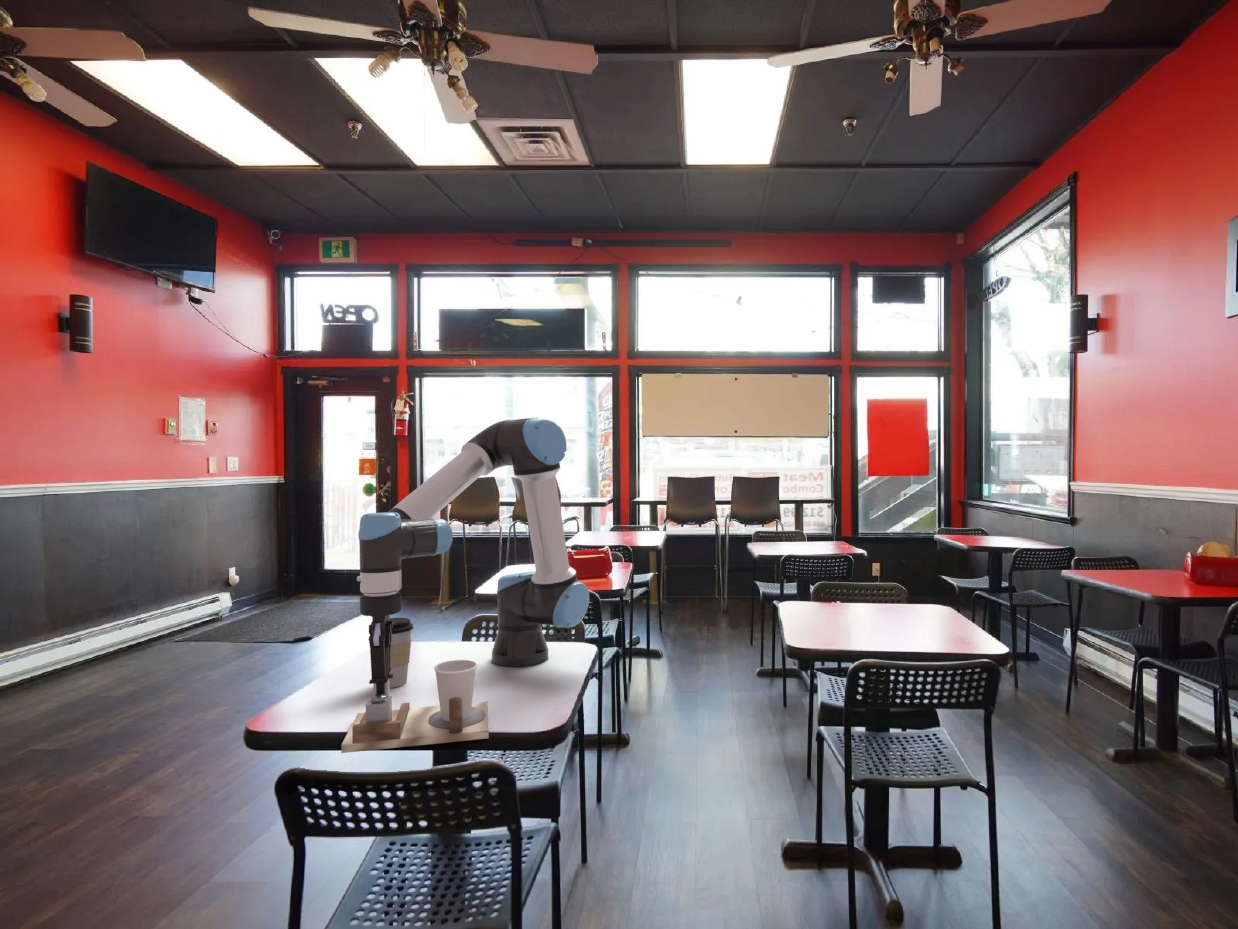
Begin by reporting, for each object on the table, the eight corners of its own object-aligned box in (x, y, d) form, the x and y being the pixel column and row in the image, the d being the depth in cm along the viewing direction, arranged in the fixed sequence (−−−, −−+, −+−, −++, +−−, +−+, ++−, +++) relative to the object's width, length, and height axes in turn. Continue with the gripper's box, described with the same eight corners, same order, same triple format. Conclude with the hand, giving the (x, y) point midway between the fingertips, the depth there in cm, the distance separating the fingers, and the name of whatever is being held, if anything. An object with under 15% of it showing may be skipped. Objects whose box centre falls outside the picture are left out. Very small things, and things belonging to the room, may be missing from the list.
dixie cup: (439, 727, 122) (439, 674, 122) (430, 713, 130) (430, 663, 130) (482, 719, 126) (482, 667, 126) (471, 706, 133) (471, 657, 134)
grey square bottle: (391, 727, 122) (391, 691, 123) (389, 736, 119) (388, 699, 119) (369, 729, 122) (369, 693, 122) (366, 738, 118) (365, 700, 118)
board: (487, 708, 137) (487, 672, 137) (488, 738, 121) (488, 698, 121) (358, 720, 131) (357, 683, 132) (341, 753, 115) (340, 711, 116)
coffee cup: (401, 691, 149) (400, 626, 149) (364, 689, 151) (363, 625, 151) (421, 678, 158) (420, 617, 159) (386, 676, 160) (386, 616, 160)
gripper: (366, 588, 130) (367, 705, 130) (353, 599, 117) (354, 730, 117) (404, 586, 132) (406, 702, 131) (396, 597, 119) (397, 726, 118)
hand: (381, 715), depth 124 cm, fingers closed
